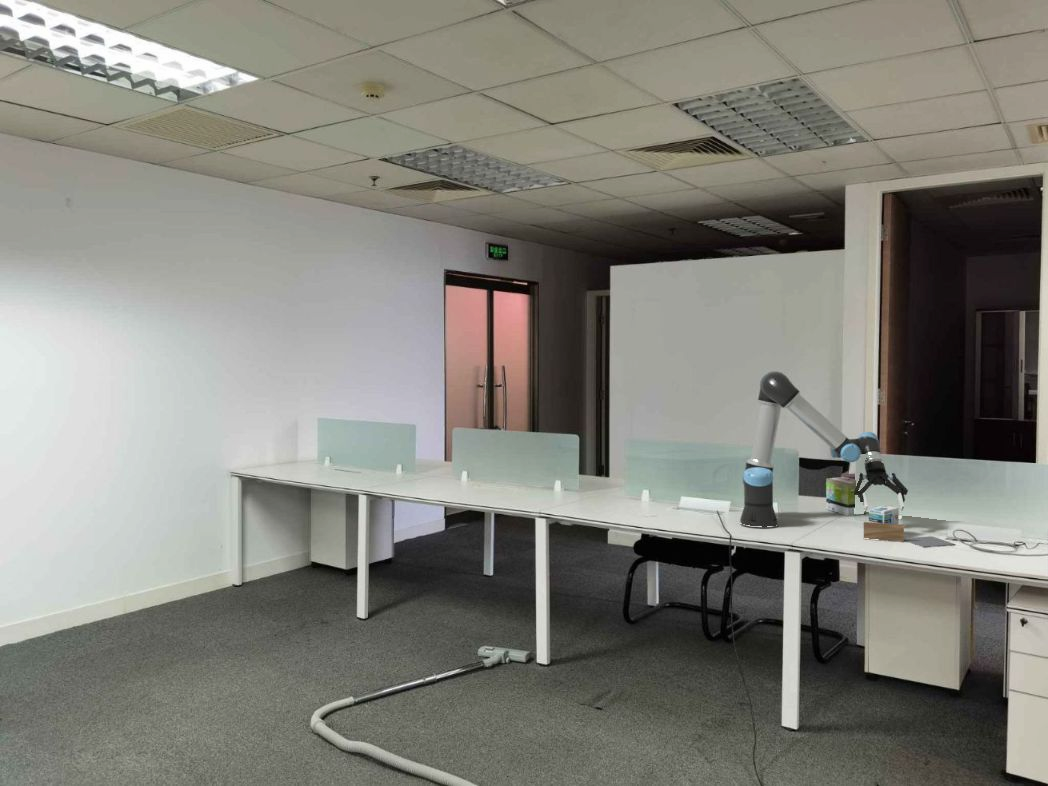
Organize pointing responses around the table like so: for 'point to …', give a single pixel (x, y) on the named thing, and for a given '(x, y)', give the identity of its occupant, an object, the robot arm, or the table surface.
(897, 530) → the oak screen
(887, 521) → the light bulb box
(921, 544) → the charcoal mat
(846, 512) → the tea box
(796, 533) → the table surface
